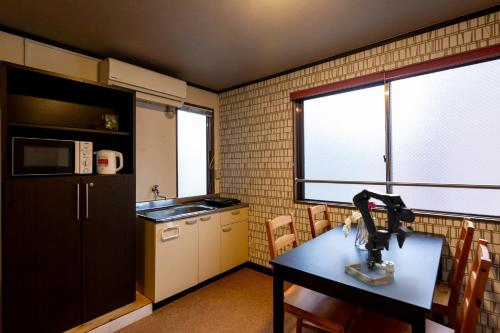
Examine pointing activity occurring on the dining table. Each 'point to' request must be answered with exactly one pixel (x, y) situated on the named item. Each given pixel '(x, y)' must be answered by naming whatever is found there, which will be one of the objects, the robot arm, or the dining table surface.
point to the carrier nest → (371, 281)
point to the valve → (382, 267)
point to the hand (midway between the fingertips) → (394, 249)
